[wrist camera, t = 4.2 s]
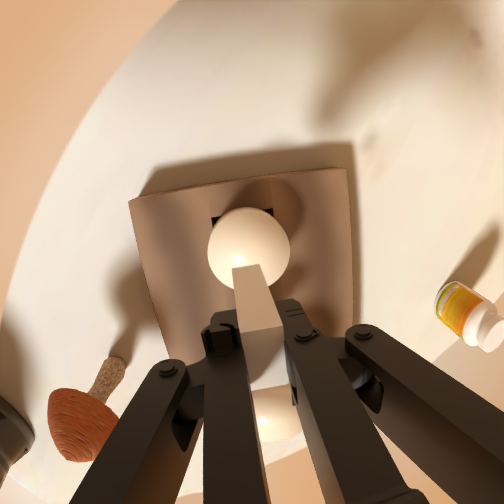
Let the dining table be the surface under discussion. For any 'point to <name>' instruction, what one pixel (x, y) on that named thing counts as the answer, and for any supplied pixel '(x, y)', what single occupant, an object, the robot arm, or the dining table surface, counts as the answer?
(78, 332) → the dining table surface
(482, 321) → the supplement bottle
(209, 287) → the console
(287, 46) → the dining table surface
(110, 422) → the mushroom
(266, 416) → the knob
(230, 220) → the knob
